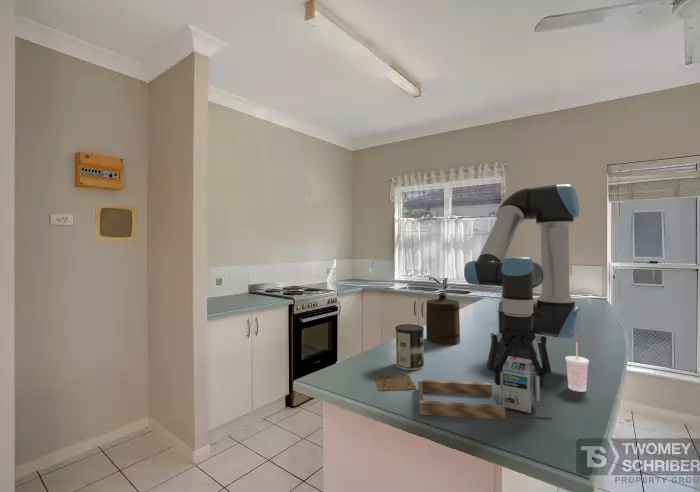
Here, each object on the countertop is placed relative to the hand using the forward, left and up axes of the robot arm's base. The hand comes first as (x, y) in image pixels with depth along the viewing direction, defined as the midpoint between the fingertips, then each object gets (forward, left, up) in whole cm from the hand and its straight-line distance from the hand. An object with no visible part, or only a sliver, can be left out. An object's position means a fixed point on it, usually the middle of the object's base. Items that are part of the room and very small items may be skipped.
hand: (518, 397), depth 95 cm
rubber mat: (-1, 0, -3) cm, 3 cm away
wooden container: (+14, -64, -3) cm, 66 cm away
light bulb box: (0, 0, -2) cm, 2 cm away
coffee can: (+29, -29, -3) cm, 41 cm away
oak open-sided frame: (+16, 0, -3) cm, 16 cm away
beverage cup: (-21, -15, -3) cm, 26 cm away
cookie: (+34, -12, -3) cm, 36 cm away
